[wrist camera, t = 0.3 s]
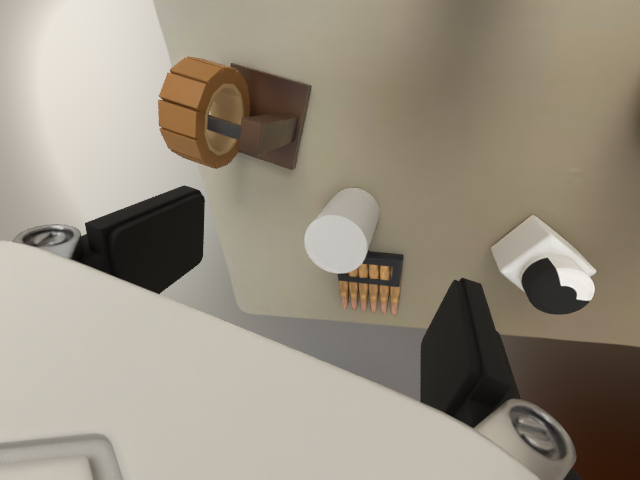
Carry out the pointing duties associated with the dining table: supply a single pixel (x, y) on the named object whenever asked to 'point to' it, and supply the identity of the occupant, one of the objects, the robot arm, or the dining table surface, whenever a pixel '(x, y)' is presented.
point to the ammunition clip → (373, 282)
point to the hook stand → (268, 118)
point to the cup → (343, 231)
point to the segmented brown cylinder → (202, 110)
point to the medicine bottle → (545, 267)
